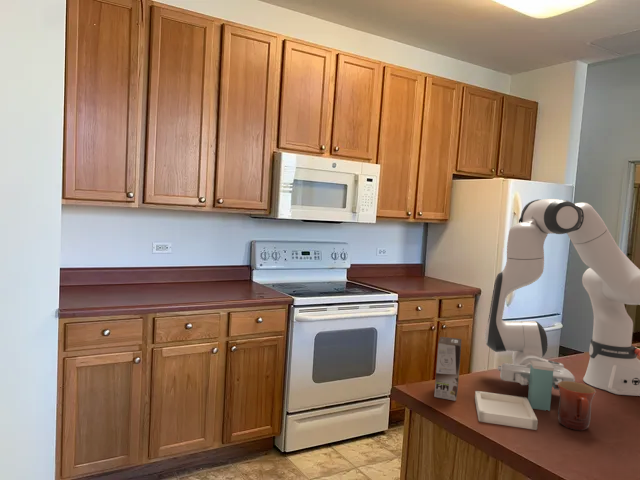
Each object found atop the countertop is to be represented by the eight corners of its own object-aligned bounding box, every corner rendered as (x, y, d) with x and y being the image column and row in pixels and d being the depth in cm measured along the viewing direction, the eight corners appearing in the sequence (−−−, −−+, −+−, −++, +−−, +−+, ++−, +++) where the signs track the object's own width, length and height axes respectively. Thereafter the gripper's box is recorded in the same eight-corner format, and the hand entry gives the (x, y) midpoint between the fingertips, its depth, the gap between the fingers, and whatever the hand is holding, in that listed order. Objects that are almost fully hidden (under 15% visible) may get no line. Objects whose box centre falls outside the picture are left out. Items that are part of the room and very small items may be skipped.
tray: (526, 406, 138) (527, 397, 138) (536, 430, 123) (537, 420, 123) (474, 399, 142) (475, 390, 141) (478, 421, 126) (479, 411, 126)
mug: (550, 416, 132) (553, 379, 131) (585, 421, 130) (589, 383, 130) (563, 436, 120) (567, 395, 120) (602, 441, 118) (606, 400, 118)
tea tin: (546, 404, 141) (550, 362, 140) (550, 411, 136) (554, 368, 135) (527, 401, 142) (530, 360, 141) (530, 408, 137) (533, 365, 136)
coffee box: (456, 401, 139) (460, 345, 138) (433, 397, 141) (437, 342, 140) (458, 390, 148) (462, 338, 147) (436, 387, 150) (440, 335, 149)
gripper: (497, 355, 153) (502, 368, 140) (568, 364, 149) (581, 378, 135) (496, 375, 154) (501, 390, 140) (566, 384, 149) (579, 400, 135)
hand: (541, 384), depth 138 cm, fingers open, 7 cm apart
